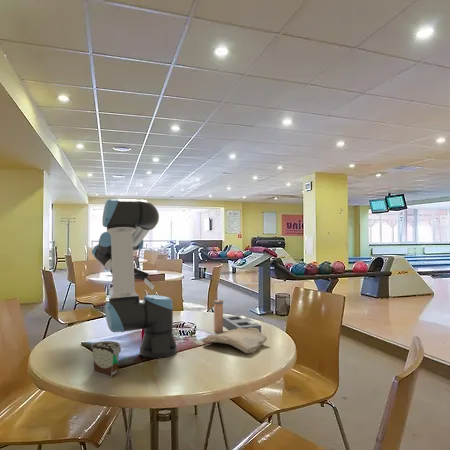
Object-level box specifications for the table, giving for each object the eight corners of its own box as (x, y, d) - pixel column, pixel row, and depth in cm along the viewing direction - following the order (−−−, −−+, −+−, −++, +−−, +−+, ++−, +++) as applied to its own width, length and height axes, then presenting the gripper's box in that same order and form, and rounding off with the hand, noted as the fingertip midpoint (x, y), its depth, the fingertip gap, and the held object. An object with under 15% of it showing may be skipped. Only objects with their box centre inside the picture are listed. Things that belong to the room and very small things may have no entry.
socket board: (261, 333, 178) (261, 324, 178) (238, 336, 174) (238, 327, 174) (242, 322, 200) (242, 314, 201) (221, 324, 196) (221, 316, 196)
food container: (128, 372, 129) (128, 344, 129) (114, 378, 124) (114, 348, 124) (105, 365, 136) (105, 338, 136) (91, 371, 130) (91, 343, 131)
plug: (224, 331, 182) (224, 301, 182) (215, 332, 180) (215, 302, 180) (221, 329, 186) (221, 300, 186) (212, 330, 184) (212, 300, 185)
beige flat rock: (225, 337, 175) (199, 344, 159) (226, 321, 176) (201, 326, 159) (270, 348, 161) (247, 356, 145) (271, 331, 162) (248, 337, 146)
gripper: (132, 260, 201) (159, 286, 196) (95, 283, 183) (123, 312, 178) (135, 252, 196) (162, 278, 191) (96, 275, 178) (125, 304, 173)
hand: (143, 295), depth 184 cm, fingers open, 13 cm apart
